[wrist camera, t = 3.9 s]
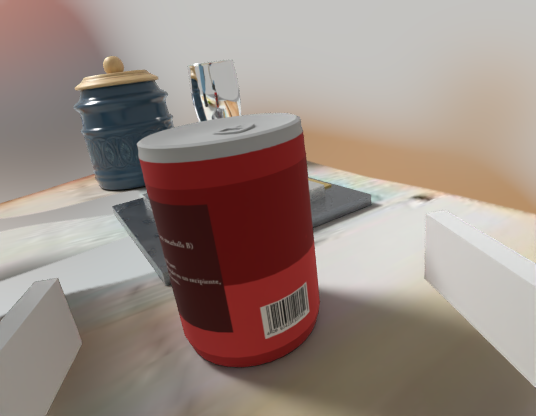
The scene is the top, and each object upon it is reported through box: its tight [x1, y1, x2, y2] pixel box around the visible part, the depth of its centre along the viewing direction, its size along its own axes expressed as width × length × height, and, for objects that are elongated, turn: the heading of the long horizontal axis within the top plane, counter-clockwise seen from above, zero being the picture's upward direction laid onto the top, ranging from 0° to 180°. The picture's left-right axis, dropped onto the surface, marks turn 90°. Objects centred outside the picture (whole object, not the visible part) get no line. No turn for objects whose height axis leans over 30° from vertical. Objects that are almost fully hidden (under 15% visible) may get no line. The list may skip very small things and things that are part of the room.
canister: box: [74, 56, 174, 190], centre depth 55 cm, size 13×13×18 cm
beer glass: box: [188, 60, 241, 122], centre depth 56 cm, size 7×7×15 cm
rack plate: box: [113, 177, 371, 285], centre depth 39 cm, size 20×20×2 cm
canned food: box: [137, 113, 320, 367], centre depth 20 cm, size 8×8×11 cm
